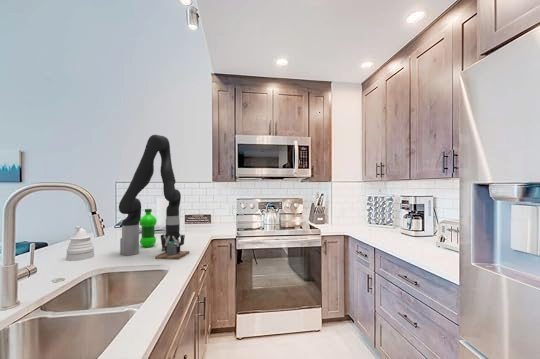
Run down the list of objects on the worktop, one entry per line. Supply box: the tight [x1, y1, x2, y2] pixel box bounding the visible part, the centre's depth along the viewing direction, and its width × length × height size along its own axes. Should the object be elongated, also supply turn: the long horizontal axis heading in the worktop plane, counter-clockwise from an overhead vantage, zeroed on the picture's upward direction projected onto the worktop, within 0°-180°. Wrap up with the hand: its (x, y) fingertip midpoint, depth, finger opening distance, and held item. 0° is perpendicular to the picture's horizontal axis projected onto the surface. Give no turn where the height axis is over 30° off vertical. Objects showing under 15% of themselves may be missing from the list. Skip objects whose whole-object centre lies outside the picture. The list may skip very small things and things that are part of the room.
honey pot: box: [65, 225, 95, 262], centre depth 153 cm, size 13×13×18 cm
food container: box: [161, 237, 176, 252], centre depth 173 cm, size 12×6×10 cm, turn 168°
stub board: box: [154, 250, 190, 261], centre depth 156 cm, size 14×14×5 cm
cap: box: [167, 243, 178, 255], centre depth 156 cm, size 6×6×5 cm
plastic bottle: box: [139, 208, 158, 248], centre depth 181 cm, size 10×10×25 cm
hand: (172, 252), depth 156 cm, fingers closed on cap, 6 cm apart
